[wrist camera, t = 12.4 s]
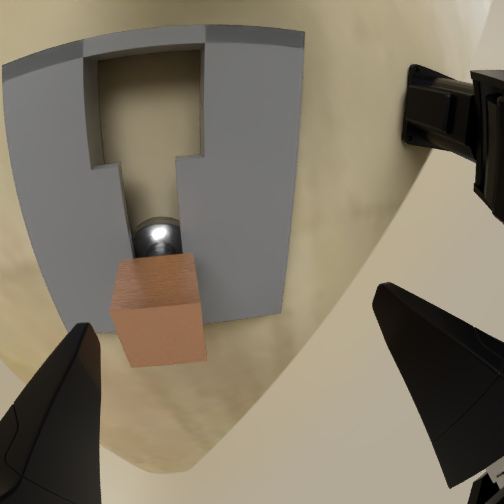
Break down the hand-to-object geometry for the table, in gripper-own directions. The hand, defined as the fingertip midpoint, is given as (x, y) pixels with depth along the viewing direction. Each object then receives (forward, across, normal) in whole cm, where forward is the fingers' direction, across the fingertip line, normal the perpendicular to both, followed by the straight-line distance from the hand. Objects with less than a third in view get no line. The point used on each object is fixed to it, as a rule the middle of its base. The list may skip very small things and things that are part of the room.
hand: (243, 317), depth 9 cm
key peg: (+12, +3, +4) cm, 13 cm away
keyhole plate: (+12, +3, +1) cm, 12 cm away
